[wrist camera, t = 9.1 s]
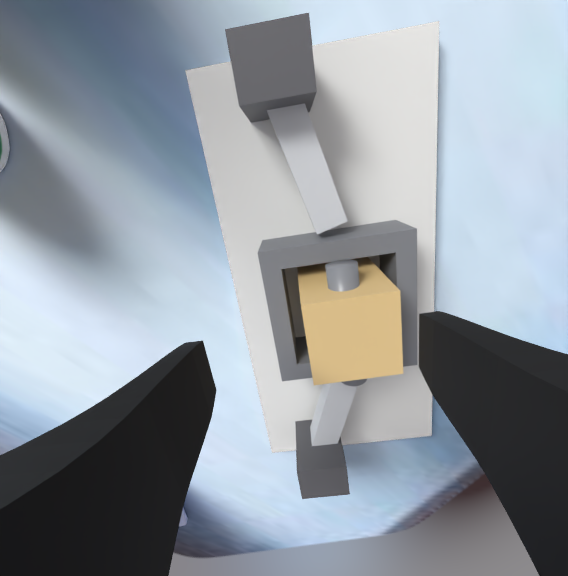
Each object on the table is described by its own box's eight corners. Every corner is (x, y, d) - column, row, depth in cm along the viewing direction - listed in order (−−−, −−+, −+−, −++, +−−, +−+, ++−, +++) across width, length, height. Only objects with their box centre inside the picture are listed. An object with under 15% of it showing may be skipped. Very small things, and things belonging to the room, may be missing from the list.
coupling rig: (425, 425, 23) (460, 488, 19) (272, 442, 24) (269, 506, 19) (429, 30, 15) (495, -37, 10) (191, 76, 16) (149, 33, 11)
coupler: (370, 329, 19) (403, 391, 14) (308, 337, 20) (316, 403, 14) (363, 237, 17) (399, 266, 12) (294, 248, 18) (297, 282, 12)
